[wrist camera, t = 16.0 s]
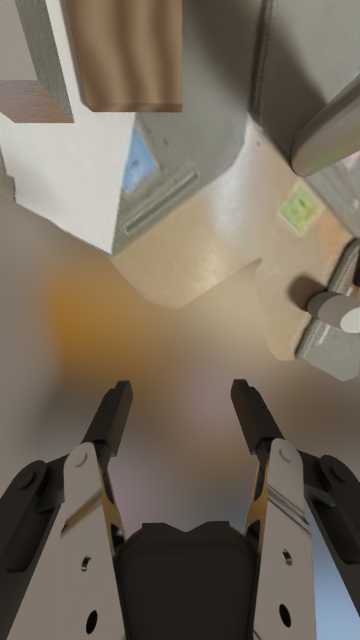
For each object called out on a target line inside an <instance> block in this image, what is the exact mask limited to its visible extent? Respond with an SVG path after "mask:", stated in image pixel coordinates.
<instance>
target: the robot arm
mask: <svg viewBox="0 0 360 640" xmlns="http://www.w3.org/2000/svg"><path fill="white" fill-rule="evenodd" d="M359 150H360V74H359V75H358V76H357V77H356V78H355V79H354V80H353V81H352V82H350V83H349V84H348V85H347V86H346V87H345V88H344V89H343V90H342V91H341V92H340V93H339V94H338V95H336V96H335V97H334V98H333V99H332V100H331V101H330V102H329V103H328V104H327V105H326V106H325V107H324V108H322V109H321V110H320V111H319V112H318V113H317V114H316V115H315V116H314V117H313V118H312V119H311V120H310V121H308V122H307V123H306V124H305V126H304V127H303V128H302V129H301V131H300V132H299V134H298V135H297V137H296V139H295V142H294V145H293V148H292V152H291V165H292V168H293V170H294V172H295V173H296V174H297V175H299V176H302V177H304V176H310V175H312V174H314V173H316V172H318V171H320V170H322V169H324V168H326V167H328V166H330V165H332V164H334V163H336V162H338V161H340V160H342V159H344V158H346V157H348V156H350V155H352V154H354V153H356V152H358V151H359ZM231 399H232V402H233V405H234V408H235V411H236V414H237V416H238V419H239V422H240V425H241V428H242V431H243V434H244V437H245V440H246V443H247V445H248V448H249V451H250V454H251V455H257V457H258V460H259V463H258V467H257V473H256V479H255V484H254V490H253V496H252V501H251V504H250V507H249V510H248V513H247V518H246V523H245V528H244V534H243V535H242V534H241V533H240V532H239V531H237V530H236V529H234V528H233V527H231V526H230V524H229V521H210V522H206V523H204V524H202V525H200V526H198V527H196V528H194V529H193V530H191V531H189V532H183V531H181V530H179V529H176V528H174V527H172V526H170V525H168V524H165V523H142V528H141V529H139V530H138V531H137V532H135V533H134V534H132V535H131V536H130V538H128V539H126V535H125V531H124V527H123V523H122V519H121V515H120V512H119V510H118V507H117V504H116V500H115V496H114V492H113V487H112V483H111V479H110V474H109V470H108V463H109V460H110V457H116V455H117V452H118V448H119V445H120V442H121V438H122V435H123V431H124V427H125V424H126V421H127V417H128V414H129V410H130V406H131V403H132V400H133V391H132V387H131V384H130V381H129V380H123V381H118V382H117V385H116V387H115V389H110V390H109V391H108V392H107V393H106V394H105V396H104V398H103V400H102V402H101V405H100V406H99V408H98V411H97V412H96V414H95V416H94V418H93V420H92V423H91V425H90V427H89V429H88V431H87V433H86V435H85V437H84V439H83V441H82V442H81V443H80V445H79V446H77V447H76V448H75V449H74V450H73V451H72V452H71V453H69V454H68V455H66V456H63V457H61V458H58V459H56V460H53V461H51V462H48V463H45V462H44V461H42V460H38V461H34V462H32V463H30V464H29V465H27V466H26V467H25V468H23V469H22V470H21V471H20V472H19V473H18V474H17V475H16V477H15V478H14V479H13V481H12V482H11V484H10V485H9V487H8V488H7V490H6V491H5V493H4V494H3V496H2V497H1V499H0V640H6V639H7V637H8V634H9V632H10V629H11V627H12V625H13V622H14V620H15V617H16V615H17V612H18V609H19V607H20V605H21V602H22V600H23V598H24V595H25V592H26V590H27V588H28V585H29V583H30V580H31V578H32V576H33V573H34V571H35V568H36V565H37V563H38V561H39V558H40V556H41V553H42V551H43V548H44V546H45V543H46V541H47V539H48V536H49V534H50V531H51V529H52V526H53V524H54V522H55V519H56V517H57V514H58V512H59V509H60V507H61V504H62V503H64V502H65V525H64V528H63V529H62V531H61V536H60V609H61V610H60V612H61V640H317V639H316V621H315V619H316V618H315V598H314V577H313V558H312V557H313V556H312V537H311V530H310V527H309V524H308V522H307V521H306V519H305V516H304V498H305V499H306V501H307V504H308V506H309V508H310V510H311V512H312V515H313V517H314V519H315V521H316V523H317V526H318V527H319V530H320V532H321V534H322V536H323V539H324V541H325V543H326V545H327V547H328V549H329V552H330V554H331V556H332V558H333V560H334V562H335V565H336V567H337V569H338V571H339V573H340V575H341V578H342V580H343V582H344V584H345V586H346V588H347V590H348V593H349V595H350V597H351V599H352V601H353V604H354V606H355V608H356V610H357V612H358V614H359V617H360V482H359V481H358V480H357V478H356V477H355V475H354V474H353V473H352V472H351V470H350V469H349V468H348V467H347V466H346V465H345V464H343V463H342V462H341V461H339V460H338V459H336V458H335V457H332V456H330V455H323V456H322V457H321V458H318V457H315V456H313V455H310V454H307V453H304V452H302V451H299V450H297V449H296V448H295V447H294V446H293V445H291V444H290V443H289V442H288V441H286V439H285V438H284V437H283V435H282V433H281V432H280V430H279V428H278V426H277V424H276V422H275V421H274V419H273V417H272V415H271V413H270V412H269V410H268V409H267V406H266V404H265V403H264V400H263V399H262V397H261V395H260V393H259V392H258V391H257V390H256V389H255V388H254V387H249V385H248V383H247V381H246V380H245V379H234V381H233V385H232V388H231ZM284 558H285V560H286V563H285V561H284ZM87 564H88V565H89V568H88V569H87Z"/></svg>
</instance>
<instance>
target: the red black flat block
mask: <svg viewBox="0 0 360 640" xmlns="http://www.w3.org/2000/svg"><path fill="white" fill-rule="evenodd" d="M355 286H358V287H360V268H359V272H358V276H357V279H356V283H355Z"/></svg>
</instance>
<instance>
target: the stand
mask: <svg viewBox="0 0 360 640" xmlns="http://www.w3.org/2000/svg"><path fill="white" fill-rule="evenodd" d="M66 2H67V7H68V12H69V17H70V22H71V27H72V32H73V37H74V42H75V47H76V52H77V57H78V61H79V66H80V71H81V76H82V81H83V86H84V91H85V96H86V101H87V104H88V106H89V107H90V109H91V110H92V112H182V0H66Z"/></svg>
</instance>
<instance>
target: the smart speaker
mask: <svg viewBox="0 0 360 640" xmlns="http://www.w3.org/2000/svg"><path fill="white" fill-rule="evenodd" d="M307 310H308V312H309V314H310V315H312V316H313V317H314V318H316V319H318V320H320V321H322V322H325V323H327V324H329V325H331V326H334V327H336V328H338V329H341V330H343V331H345V332H348V333H359V332H360V301H358V300H356V299H353V298H351V297H348V296H346V295H343V294H340V293H336V292H322V293H319V294H317V295H315V296H314V297H312V298H311V300H310V301H309V302H308V305H307Z"/></svg>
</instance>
